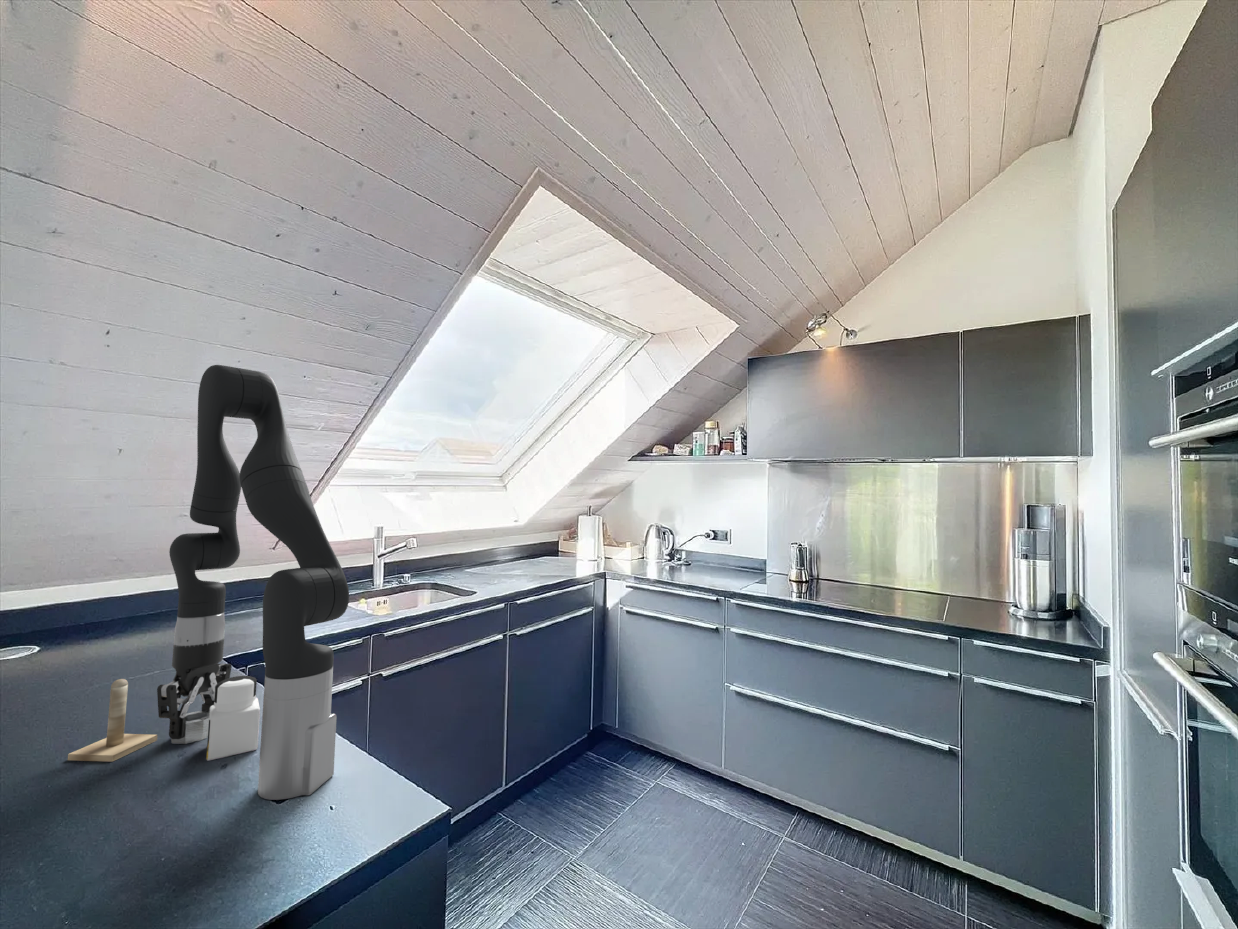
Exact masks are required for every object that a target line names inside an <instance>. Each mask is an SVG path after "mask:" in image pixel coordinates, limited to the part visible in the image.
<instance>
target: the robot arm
mask: <svg viewBox="0 0 1238 929" xmlns="http://www.w3.org/2000/svg"><path fill="white" fill-rule="evenodd" d="M197 398H198V399H197V426H196V427H197V435H196V436H197V442H196V443H197V444H196V445H197V446H196V447H197V448H196V449H197V451H196V452H197V454H196V455H197V458H196V459H197V460H196V461H197V462H196V475H195V482H194V486H193V487H194V488H193V492H192V498H191V505H190V508H189V518H190V520H192V521H193V522H194V523H196V524H199V525H200V524H201V525H204V526H209V527H215V528H218V531H217V532H195V533H194V532H193V533H183V534H180V535H178V536H177V537H176V538H174V540H172V542H171V544H170V547H169V550H168V552H169V557H170V559H169V560H170V562H171V566H172V569H173V572H174V574H175V578H176V585H177V590H178V591H177V592H178V604H177V615H176V616H177V617H176V623H175V627H174V631H173V632H174V634H173V644H172V645H173V648H172V658H171V659H172V661H171V667H172V668H173V669H174V670H175V675H174V678H173V679H172V681H171V682H169V683H166V684H159V685H158V686H157V689H156V693H157V694H156V695H157V709H158V710H157V711H158V712H157V713H158V718H159V719H168V720H169V729H168V737H169V738H170V739H181V738H183V737H184V736H185V724H186V717H185V715H186V714H187V713H188V711H189V708H190V706H191V705H192V704H193V703H194V702H195V700H196V697H197V696H198V695H200V697H201V699H202V701H203V703H202V704H201V711H210V707H211V706H212V705H214V698H215V686H216V685H217V684H218V683H219V682H221V681H223V680H225V679H227V678H231V673H232V663H222V662H221V661H223V658H224V651H225V650H224V649H225V648H224V647H225V646H224V645H225V635H226V634H225V633H226V632H225V631H226V619H225V609H226V595H227V590H226V589H227V588H226V585H225V584H224V583H222V582H220V581H212V580H211V581H210V580H202V579H201V580H200V579H199V578H198V576H197V574H196V571H205V570H206V571H207V570H208V571H209V570H218V569H220V570H221V569H227V568H230V567H231V566H233V565H234V564H235V563H236V562H237V561H238V559H239V557H240V553H241V547H240V542H239V535H238V528H237V513H238V512H237V511H238V506H239V501H240V497H241V496H240V495H241V492H242V493H243V496H244V500H245V503H246V506H247V509H248V510H249V512H250V515H252V517H254V519H255V520H256V521H257V522H258V523H259V524H260V525H261V526H263V527H264V528H265V529H266V530H267V531H268V532H269V533H271V534H272V535H273V536H274V537H275V538H277V539H278V540H279V541H281V542H282V544H284V545H285V546H286V547H287V549H289V551H290V552H291V553H292V555H293V556H294V558H295V559H296V562H297V564H298V565H299V567H295V568H286V569H281V570H278V571H275V572H274V573H273V574H272V575H271V576H270V577H269V579H268V580H267V583H266V585H265V586H264V587H265V588H264V591H263V596H262V597H263V598H262V654H263V659H264V661H263V662H264V669H265V670H264V686H263V698H262V699H263V700H262V702H263V703H262V717H261V734H260V746H259V747H260V748H259V762H258V763H259V764H258V766H259V768H258V781H257V782H258V783H257V795H258V796H259V797H260V798H262V799H265V800H270V801H271V800H273V801H275V800H276V801H279V800H287V799H292V798H297V797H299V796H310V795H312V794H313V793H314V792H316V790H318V789H319V788H320V787H321V786H322V785H323V784H325V783H326V782H327V781H328V780H329V779H331V777H332V776H334V774H335V772H334V771H335V758H336V757H335V756H336V754H335V752H336V734H337V714H336V713H332V698H333V697H332V694H333V679H334V673H333V672H334V657H335V656H334V655H335V654H334V650H333V648H332V647H330V646H329V645H325V644H319V643H311V642H308V641H307V640H306V634H305V627H307V626H312V625H317V624H323V623H327V622H331V621H334V620H338V619H339V618H341V617H342V616H343V615H344V614H345V613H346V610H347V609H348V606H349V602H350V590H349V589H350V588H349V585H348V581H347V578H346V575H345V572H344V569H343V568H342V566H341V563H340V562H339V560H338V558H337V557H338V556H336V554H335V552H334V549H333V547H332V545H331V543H330V542H329V540H328V538H327V536H326V533H325V531H324V529H323V527H322V524H321V521H320V519H319V516H318V514H317V512H316V508H315V506H314V504H313V501H312V497H311V494H310V491H309V488H308V487H309V486H308V485H307V482H306V480H305V476H304V474H303V470H302V468H301V466H300V463H299V461H298V459H297V456H296V453H295V450H294V447H293V444H292V441H291V437H290V434H289V432H288V427H287V424H286V423H287V422H286V419H285V415H284V411H283V405H282V402H281V397H280V393H279V390H278V387H277V385H276V382H275V381H274V379H273V378H272V377H271V376H270V374H268V373H265V372H262V371H258V370H252V369H247V368H239V367H235V366H230V365H229V366H228V365H222V364H221V365H220V364H213V365H210V366H209V367H207V368H206V369H205V371H204V373H203V374H202V376H201V379H200V383H199V388H198V395H197ZM225 418H235V419H245V420H251V421H252V422H253V423H254V425H255V428H256V429H255V430H256V432H257V433H256V434H257V438H256V440H255V442H254V445H253V446H252V447H251V450H250V451H249V452H248V454H247V456H246V457H245V459H244V461H243V462H242V465H241V468H240V470H239V467H238V466H237V464H236V462H235V460H234V459H233V457H232V455H231V453H230V450H229V449H228V447H227V443H226V441H225V439H224V434H223V433H224V431H223V427H224V419H225ZM182 697H184V698H182ZM185 697H186V698H185ZM180 705H181V707H180ZM179 707H180V709H179Z"/></svg>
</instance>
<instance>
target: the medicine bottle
mask: <svg viewBox="0 0 1238 929" xmlns="http://www.w3.org/2000/svg"><path fill="white" fill-rule="evenodd" d="M257 680H258V679H257V678H256V677H254V676H250V675H237V676H232V677H231V676H230V678H227V679H225V680H223V681H221V682H219V683H218V684H217V685H216V686H215V698H214V705H212V706H211V707H210V712H209V727H208V737H207V743H206V745H207V746H206V761H215V760H216V759H217V760H218V759H223V758H227V757H231V756H235V755H239V754H244V753H249V752H253V751H256V750H258V746H259V734H260V733H259V730H260V716H261V713H260V712H261V707H260V703H259V698H258V697H257V684H258V683H257V682H258V681H257Z"/></svg>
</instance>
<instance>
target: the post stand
mask: <svg viewBox="0 0 1238 929" xmlns="http://www.w3.org/2000/svg"><path fill="white" fill-rule="evenodd" d="M128 689H129V682H128V680H126V679H125V678H120V679H115V680H114V681H113V682H112V683H111V686H110V691H109V692H110V694H109V705H108V706H109V707H108V715H107V716H108V720H107V729H106V737H105V738H103V739H100V740H98V741H95V742H93V743H91V744H88V745H86V746H84V747H82V748H79V749H76V750H73V751H72V752H70V753H68V754H67V761H78V762H79V761H81V762H83V761H84V762H114V761H117V760H119V759H121V758H123V757H126V756H127V755H129V754H131V753H135V752H136V751H139V750H140V749H142V748H144V747H146V746H148V745H151V744H152V743H155V742H157V741H158V734H146V733H144V734H143V733H136V734H135V733H125V725H126V714H127V713H126V712H127V701H128Z"/></svg>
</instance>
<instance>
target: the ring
mask: <svg viewBox="0 0 1238 929" xmlns="http://www.w3.org/2000/svg"><path fill="white" fill-rule="evenodd" d="M209 712H210V711H202V710H198V711H197V710H196V711H192V712H187V713H186V715H185V717H186V724H185V736H184V737H183V738H181V739H171V738H170V739H171V741H170V742H171V744H174V745H175V744H178V745H179V744H181V745H186V744H190V743H195V742H200V741H203V740H204V739H208V727H209Z"/></svg>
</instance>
